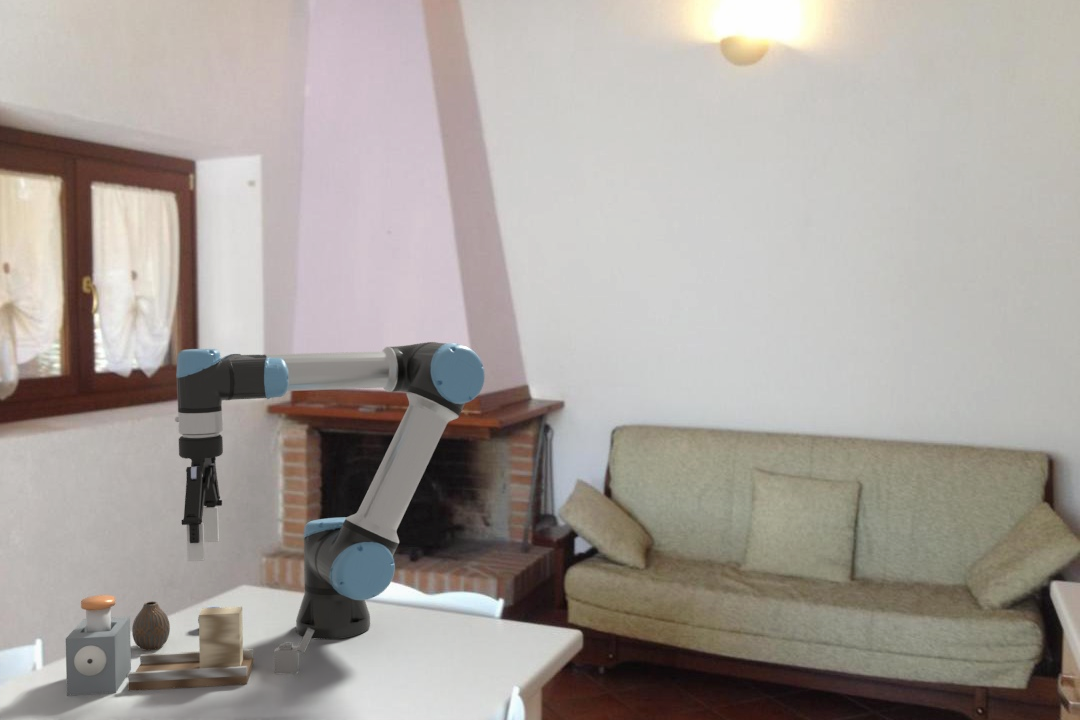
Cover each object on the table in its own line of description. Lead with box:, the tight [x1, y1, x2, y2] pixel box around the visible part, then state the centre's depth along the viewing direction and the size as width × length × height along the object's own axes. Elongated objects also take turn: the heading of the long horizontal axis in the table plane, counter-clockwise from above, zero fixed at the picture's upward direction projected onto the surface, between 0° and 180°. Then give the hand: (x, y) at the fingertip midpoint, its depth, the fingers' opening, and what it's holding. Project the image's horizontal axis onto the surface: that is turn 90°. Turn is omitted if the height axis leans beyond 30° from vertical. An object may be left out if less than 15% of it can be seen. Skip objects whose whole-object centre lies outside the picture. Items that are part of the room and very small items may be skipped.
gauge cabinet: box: [65, 616, 132, 696], centre depth 179 cm, size 8×12×10 cm
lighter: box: [274, 628, 315, 675], centre depth 185 cm, size 7×2×8 cm, turn 95°
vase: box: [131, 601, 171, 651], centre depth 198 cm, size 7×7×9 cm
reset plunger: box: [80, 594, 116, 632], centre depth 179 cm, size 6×6×8 cm
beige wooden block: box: [198, 606, 244, 668], centre depth 182 cm, size 7×4×10 cm, turn 99°
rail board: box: [127, 648, 254, 692], centre depth 182 cm, size 20×10×3 cm, turn 99°
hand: (203, 550), depth 182 cm, fingers open, 13 cm apart
